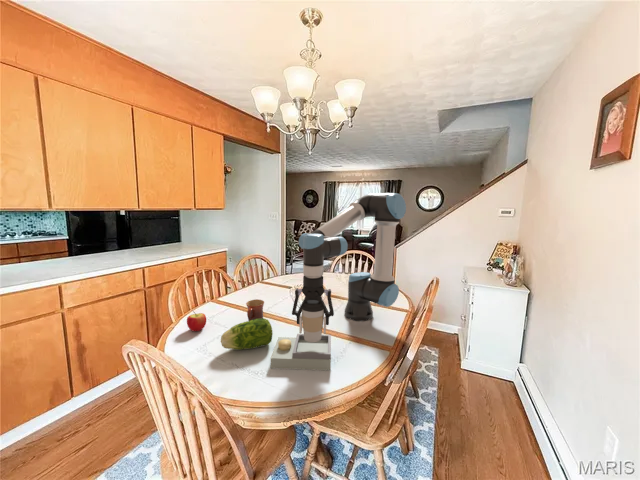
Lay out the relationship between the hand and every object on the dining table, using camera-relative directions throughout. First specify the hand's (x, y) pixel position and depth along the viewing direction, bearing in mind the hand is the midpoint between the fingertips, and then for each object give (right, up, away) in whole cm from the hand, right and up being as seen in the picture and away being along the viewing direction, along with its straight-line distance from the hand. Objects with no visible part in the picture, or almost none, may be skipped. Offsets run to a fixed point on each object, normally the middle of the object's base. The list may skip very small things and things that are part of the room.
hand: (312, 331), depth 102 cm
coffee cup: (0, -3, 0) cm, 3 cm away
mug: (-30, -6, +30) cm, 43 cm away
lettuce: (-28, -10, +8) cm, 30 cm away
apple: (-55, -7, +23) cm, 60 cm away
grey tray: (-4, -11, +2) cm, 12 cm away
